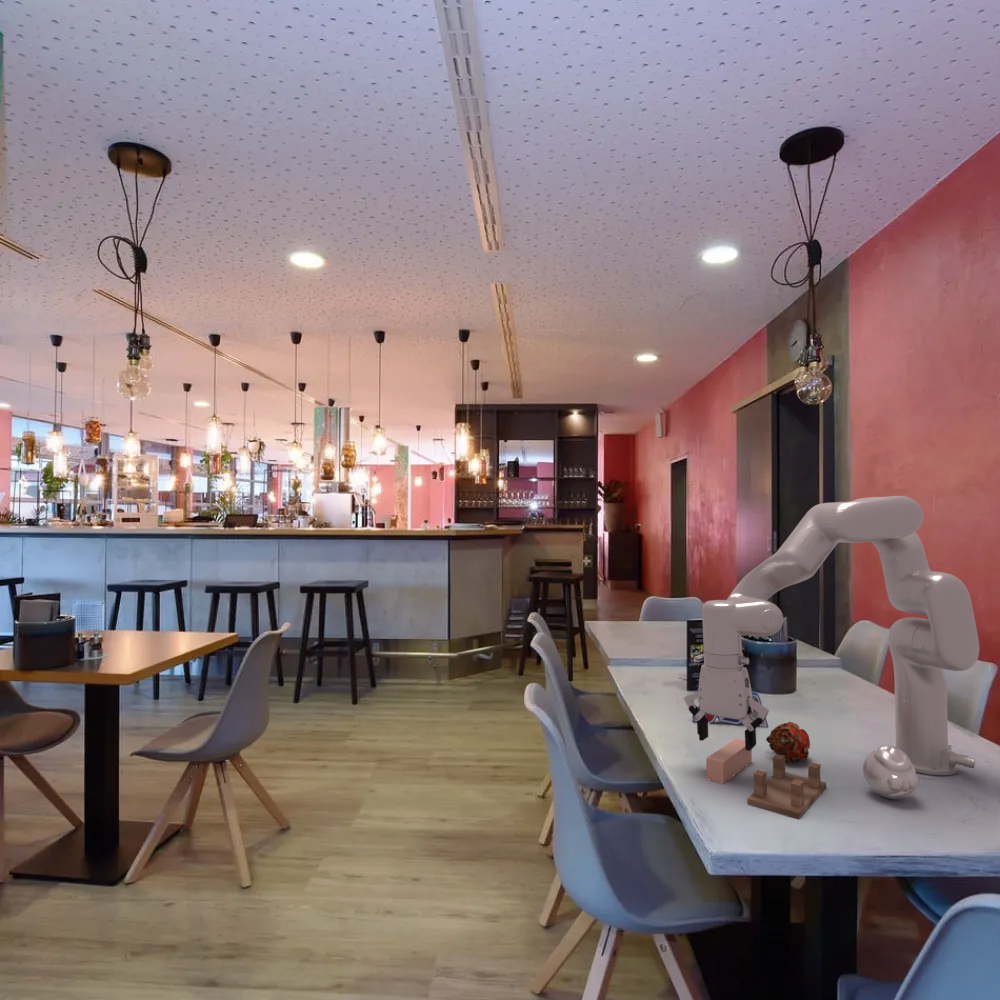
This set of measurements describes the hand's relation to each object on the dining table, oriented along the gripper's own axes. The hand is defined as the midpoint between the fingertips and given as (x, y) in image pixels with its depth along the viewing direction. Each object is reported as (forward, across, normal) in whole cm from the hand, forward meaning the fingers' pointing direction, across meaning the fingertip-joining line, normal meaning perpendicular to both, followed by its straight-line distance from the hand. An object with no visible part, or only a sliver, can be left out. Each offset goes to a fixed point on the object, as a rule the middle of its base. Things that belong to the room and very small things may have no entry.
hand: (726, 743), depth 129 cm
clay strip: (+7, +1, -3) cm, 8 cm away
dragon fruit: (+7, -6, -19) cm, 22 cm away
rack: (+7, -12, +2) cm, 14 cm away
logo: (+7, +13, -34) cm, 38 cm away
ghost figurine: (+8, -27, -10) cm, 30 cm away
